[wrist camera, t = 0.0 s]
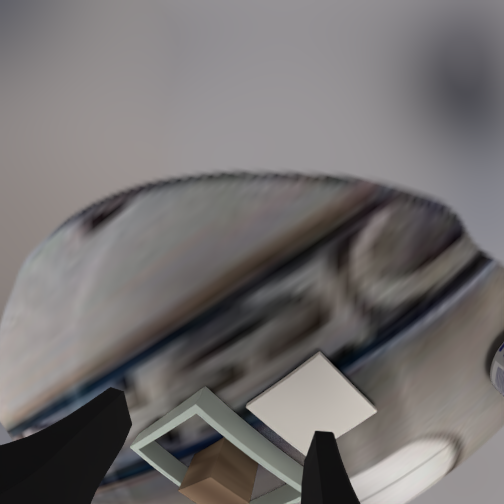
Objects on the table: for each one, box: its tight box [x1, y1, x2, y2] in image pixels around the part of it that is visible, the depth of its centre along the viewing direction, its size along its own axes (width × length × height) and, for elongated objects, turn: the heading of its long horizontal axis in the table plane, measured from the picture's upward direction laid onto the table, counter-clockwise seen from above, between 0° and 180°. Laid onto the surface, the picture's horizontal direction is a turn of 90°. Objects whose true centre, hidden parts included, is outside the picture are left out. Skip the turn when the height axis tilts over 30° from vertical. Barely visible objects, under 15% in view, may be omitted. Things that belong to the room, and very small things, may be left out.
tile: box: [246, 351, 377, 456], centre depth 22 cm, size 7×7×1 cm
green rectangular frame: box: [130, 386, 304, 504], centre depth 23 cm, size 9×13×2 cm
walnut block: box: [178, 437, 258, 504], centre depth 22 cm, size 4×4×5 cm
